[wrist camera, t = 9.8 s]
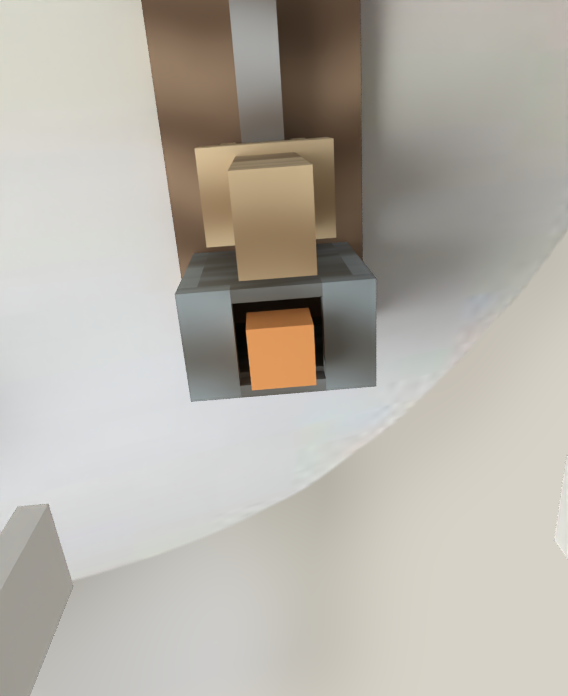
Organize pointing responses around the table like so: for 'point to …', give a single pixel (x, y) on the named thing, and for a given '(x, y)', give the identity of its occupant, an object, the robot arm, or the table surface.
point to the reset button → (281, 348)
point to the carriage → (269, 203)
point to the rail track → (216, 113)
